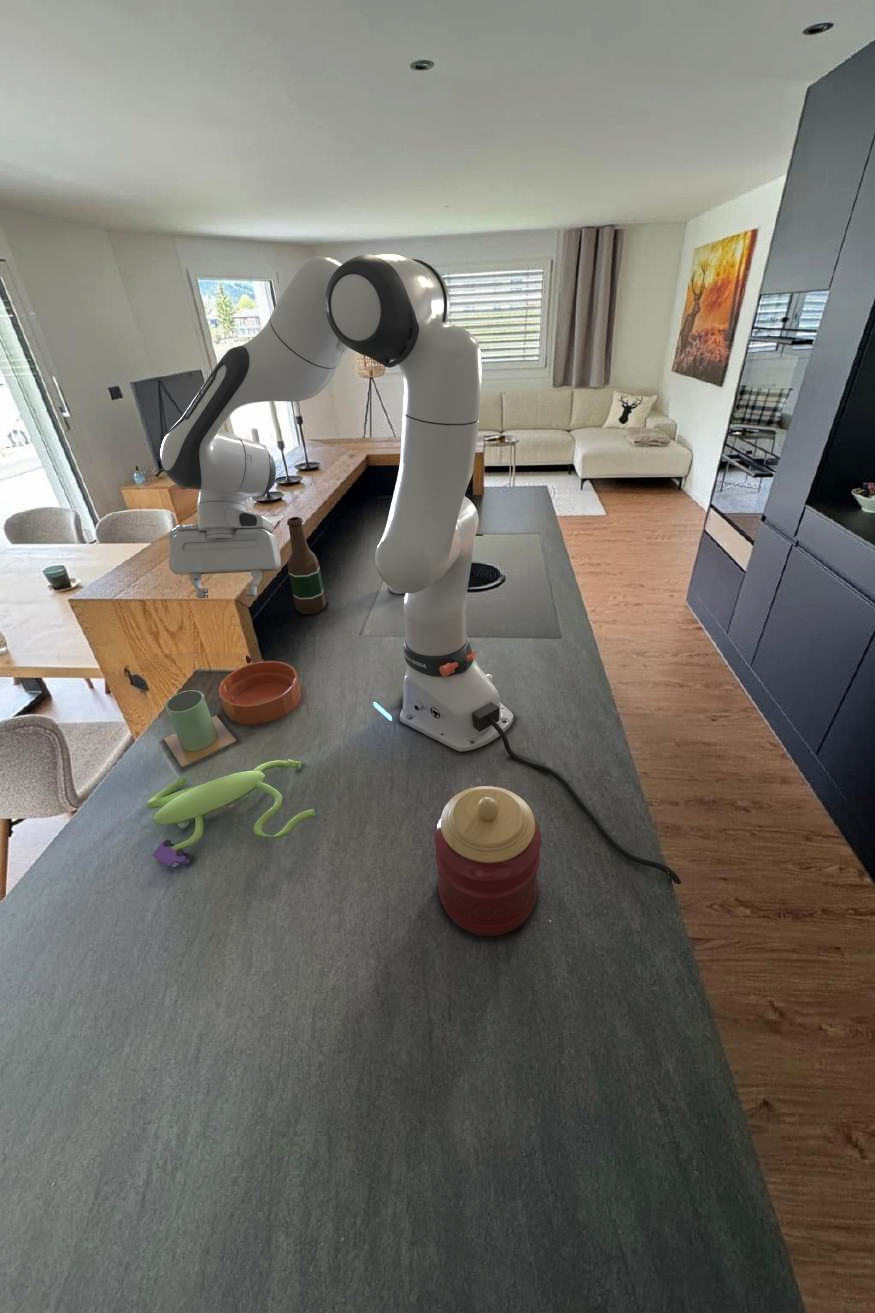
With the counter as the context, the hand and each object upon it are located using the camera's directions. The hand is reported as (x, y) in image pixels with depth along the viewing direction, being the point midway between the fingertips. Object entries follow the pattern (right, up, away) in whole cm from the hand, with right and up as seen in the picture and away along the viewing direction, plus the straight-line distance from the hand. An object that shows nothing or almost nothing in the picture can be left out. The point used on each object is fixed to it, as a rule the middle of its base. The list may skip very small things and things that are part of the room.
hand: (227, 596), depth 104 cm
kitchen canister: (+46, -43, -30) cm, 70 cm away
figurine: (+8, -36, -17) cm, 41 cm away
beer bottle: (+7, +1, +40) cm, 41 cm away
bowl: (+5, -21, +7) cm, 22 cm away
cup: (-4, -27, -2) cm, 27 cm away
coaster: (-4, -27, -2) cm, 27 cm away
